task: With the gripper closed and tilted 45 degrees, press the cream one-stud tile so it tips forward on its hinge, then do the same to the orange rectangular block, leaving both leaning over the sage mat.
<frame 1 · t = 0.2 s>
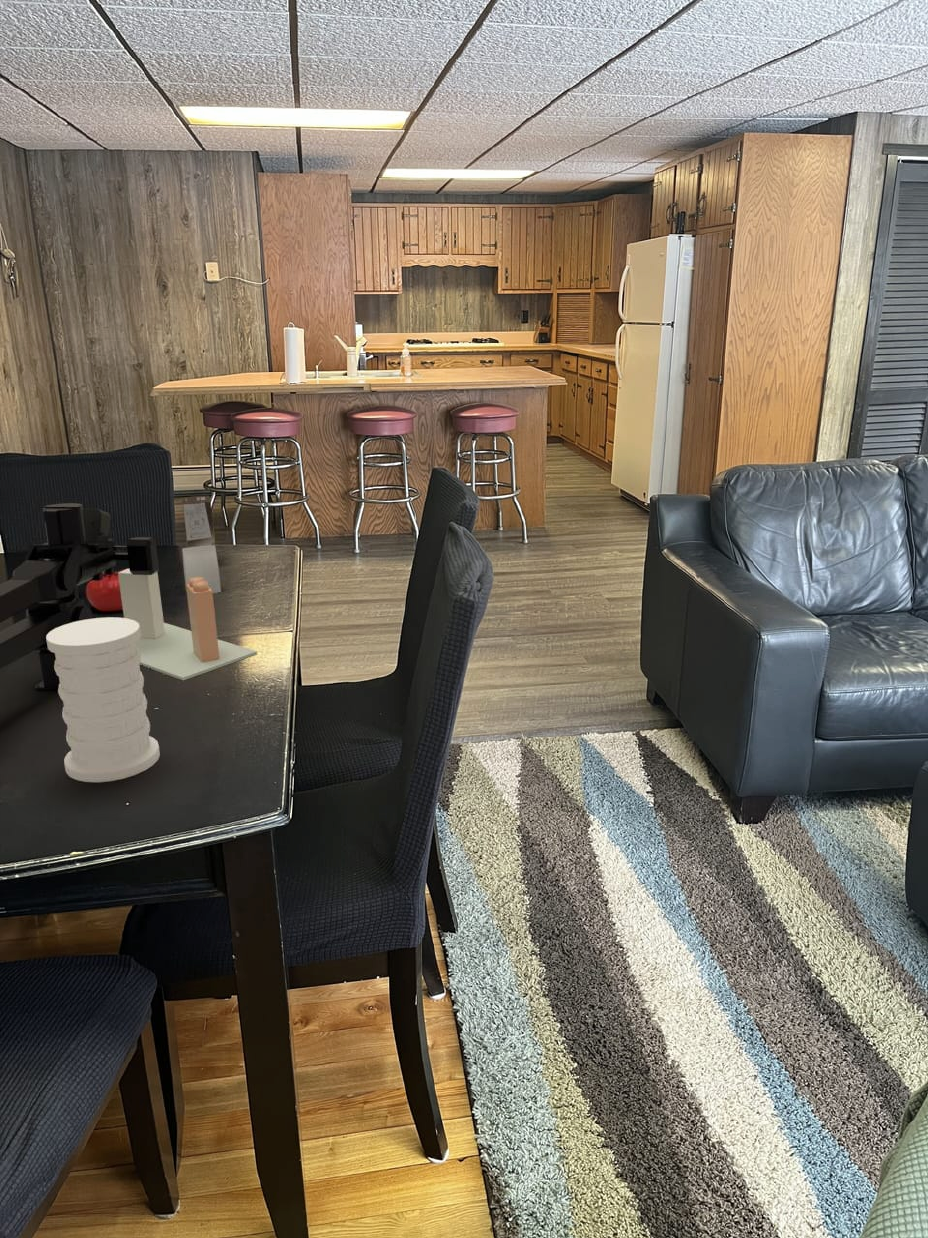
hand: (126, 545, 160), 17 cm above the table, tool horizontal, fingers open, 9 cm apart
mat: (170, 649, 156), on the table
tile one: (141, 600, 160), point 7 cm above the table, hinge at 0.0°
smoothie: (68, 599, 187), on the table
red tomato: (115, 608, 181), on the table
coffee box: (203, 566, 212), on the table
pale grey upright block: (203, 593, 191), on the table
decorative container: (113, 762, 116), on the table
orange rectangular block: (202, 618, 150), point 7 cm above the table, hinge at 0.0°
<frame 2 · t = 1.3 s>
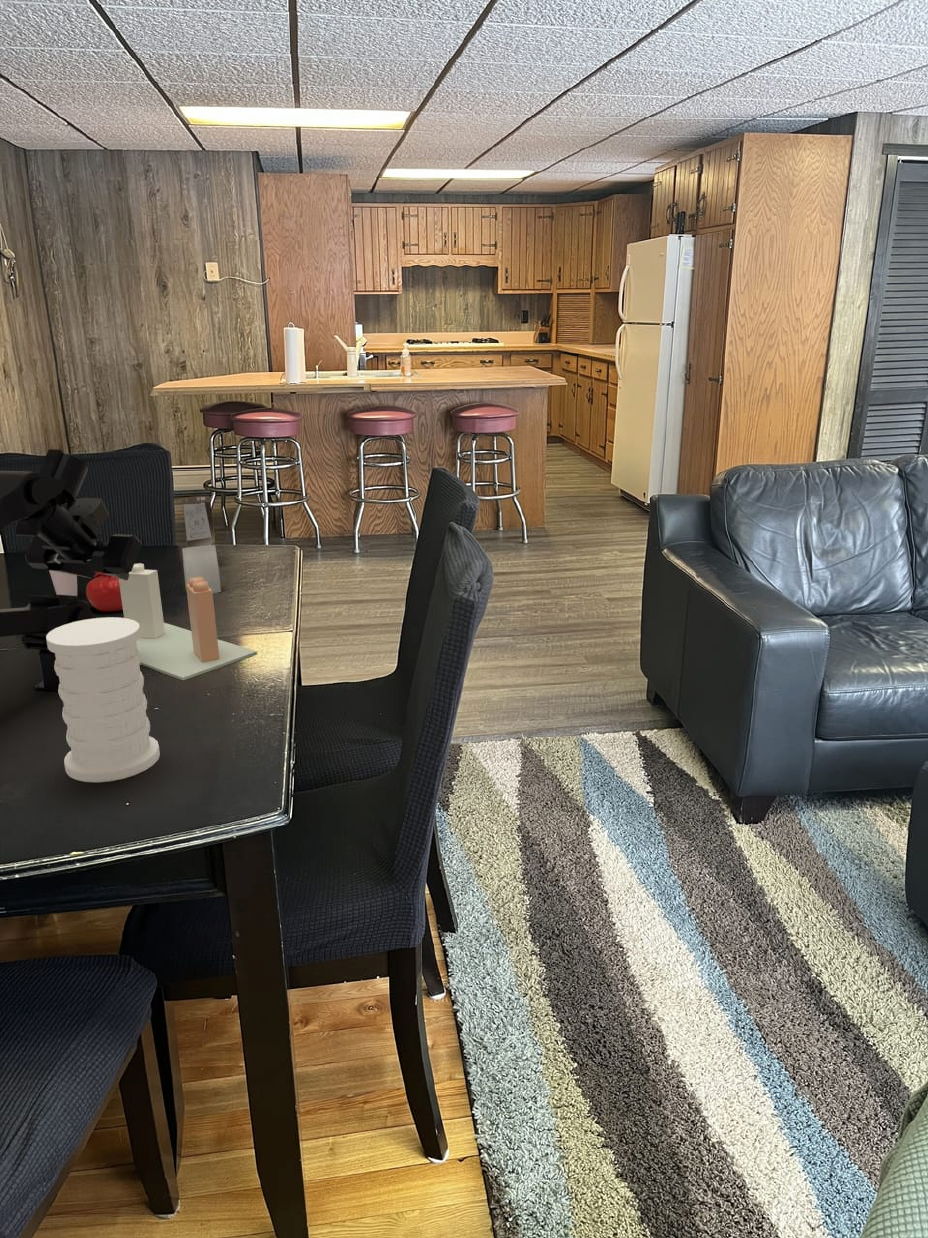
hand: (110, 576, 151), 14 cm above the table, tool tilted 45°, fingers open, 6 cm apart
nothing on the table moved.
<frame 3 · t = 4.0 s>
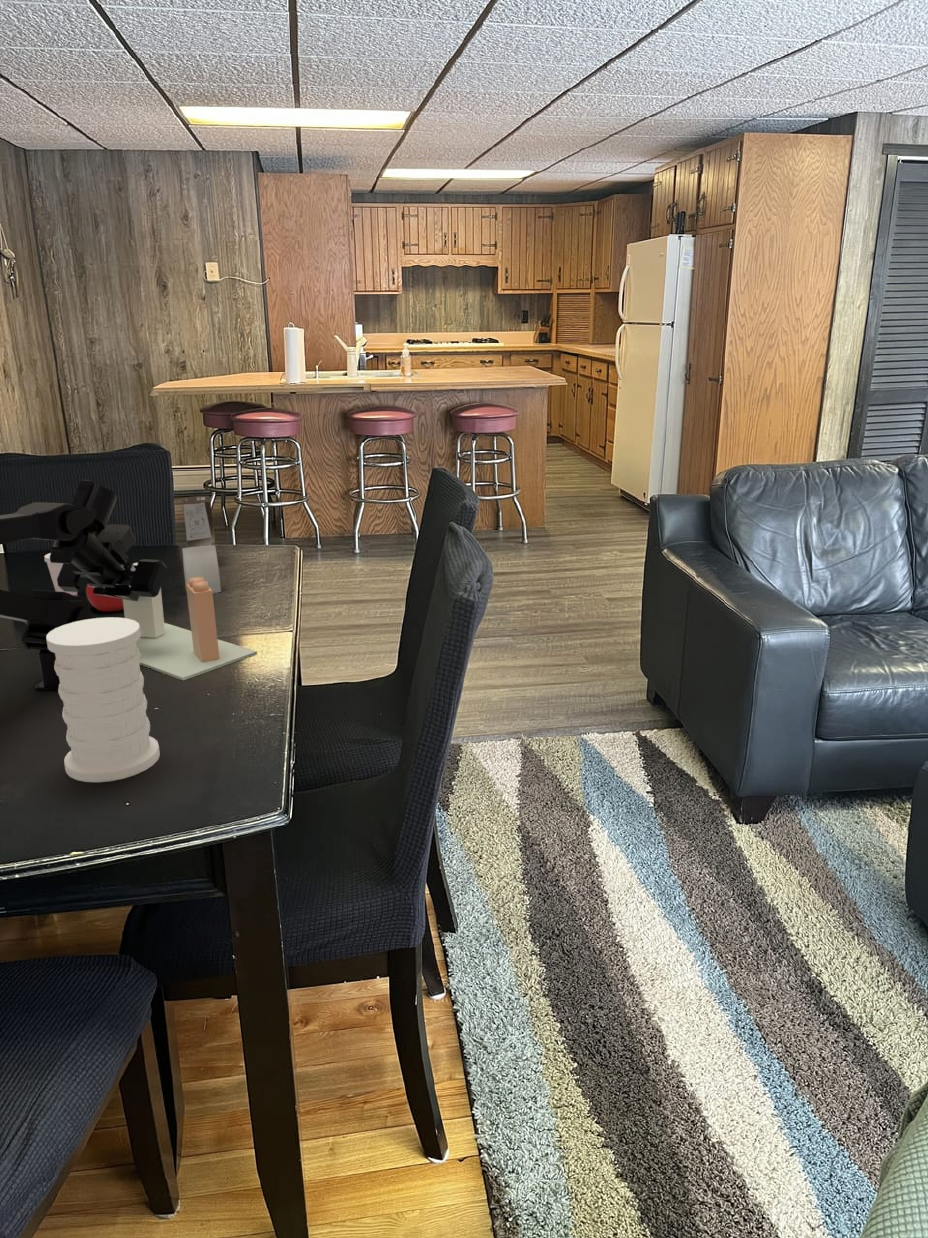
hand: (136, 598, 159), 8 cm above the table, tool tilted 45°, fingers closed, pressing on tile one
tile one: (142, 599, 160), point 7 cm above the table, hinge at 3.0°, touching gripper
everything else where it was.
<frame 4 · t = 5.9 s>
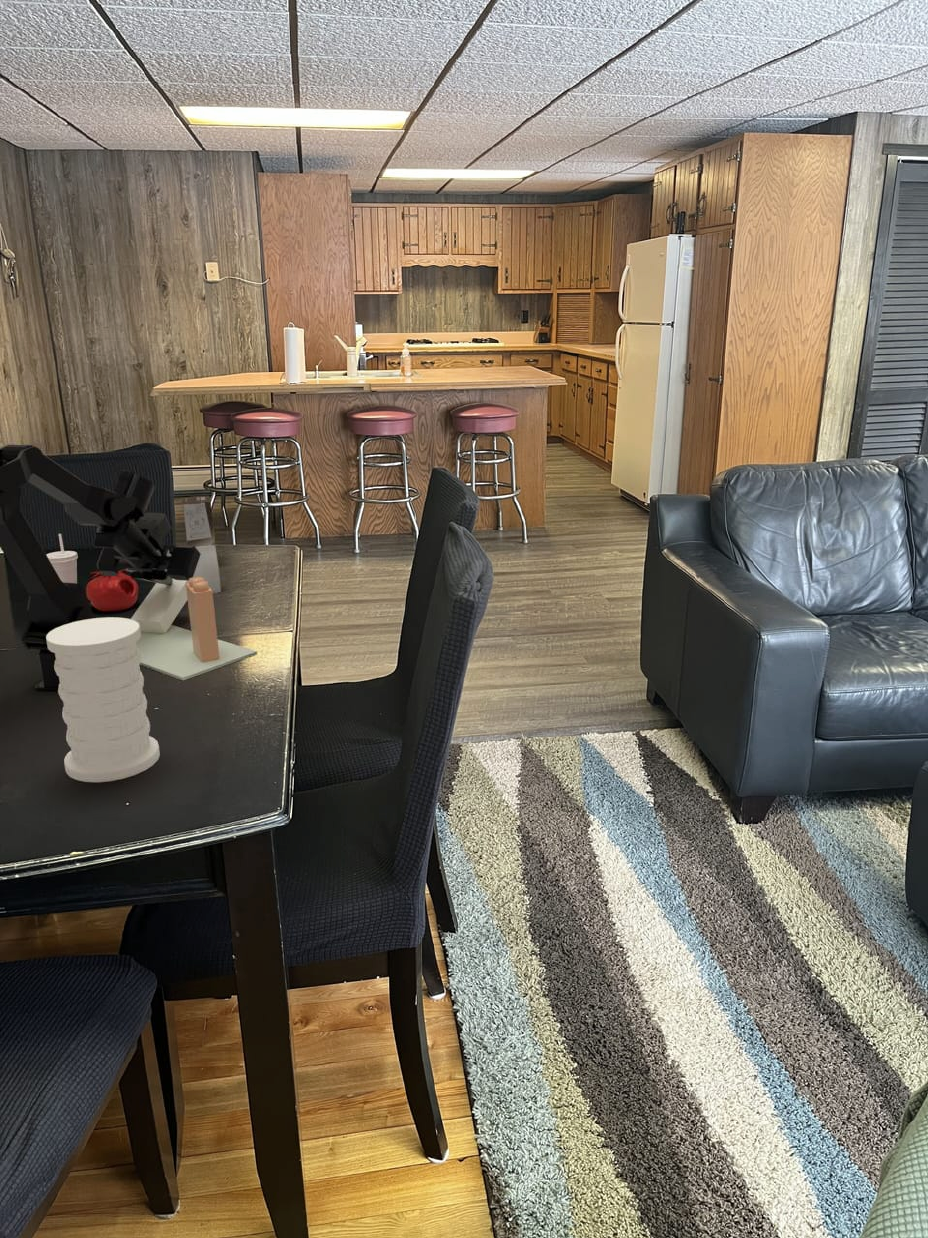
hand: (170, 583, 169), 8 cm above the table, tool tilted 45°, fingers closed
tile one: (164, 602, 167), point 5 cm above the table, hinge at 64.9°, touching gripper
everything else where it was.
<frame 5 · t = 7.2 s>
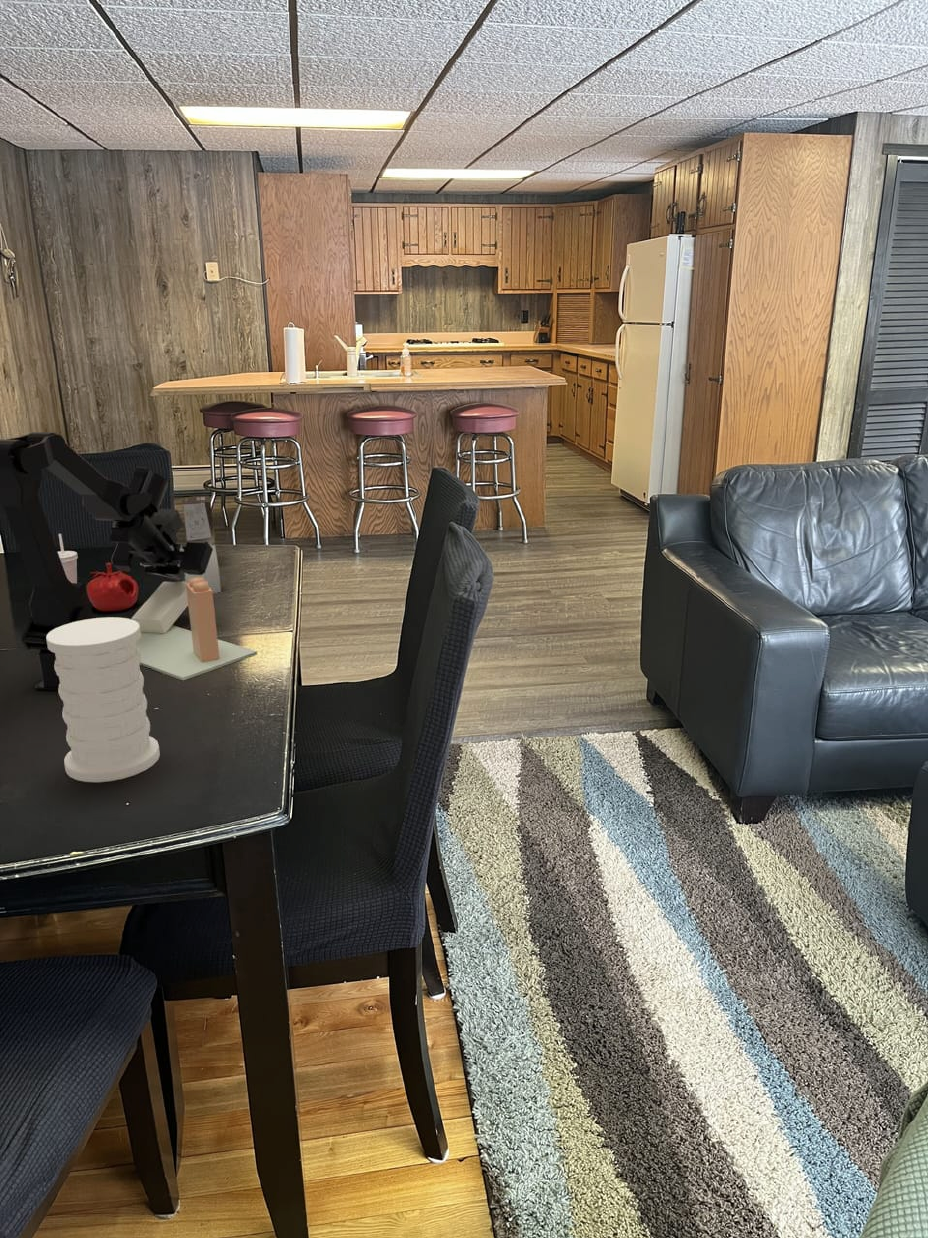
hand: (182, 577, 173), 8 cm above the table, tool tilted 45°, fingers closed
tile one: (165, 605, 168), point 4 cm above the table, hinge at 71.4°
everything else where it was.
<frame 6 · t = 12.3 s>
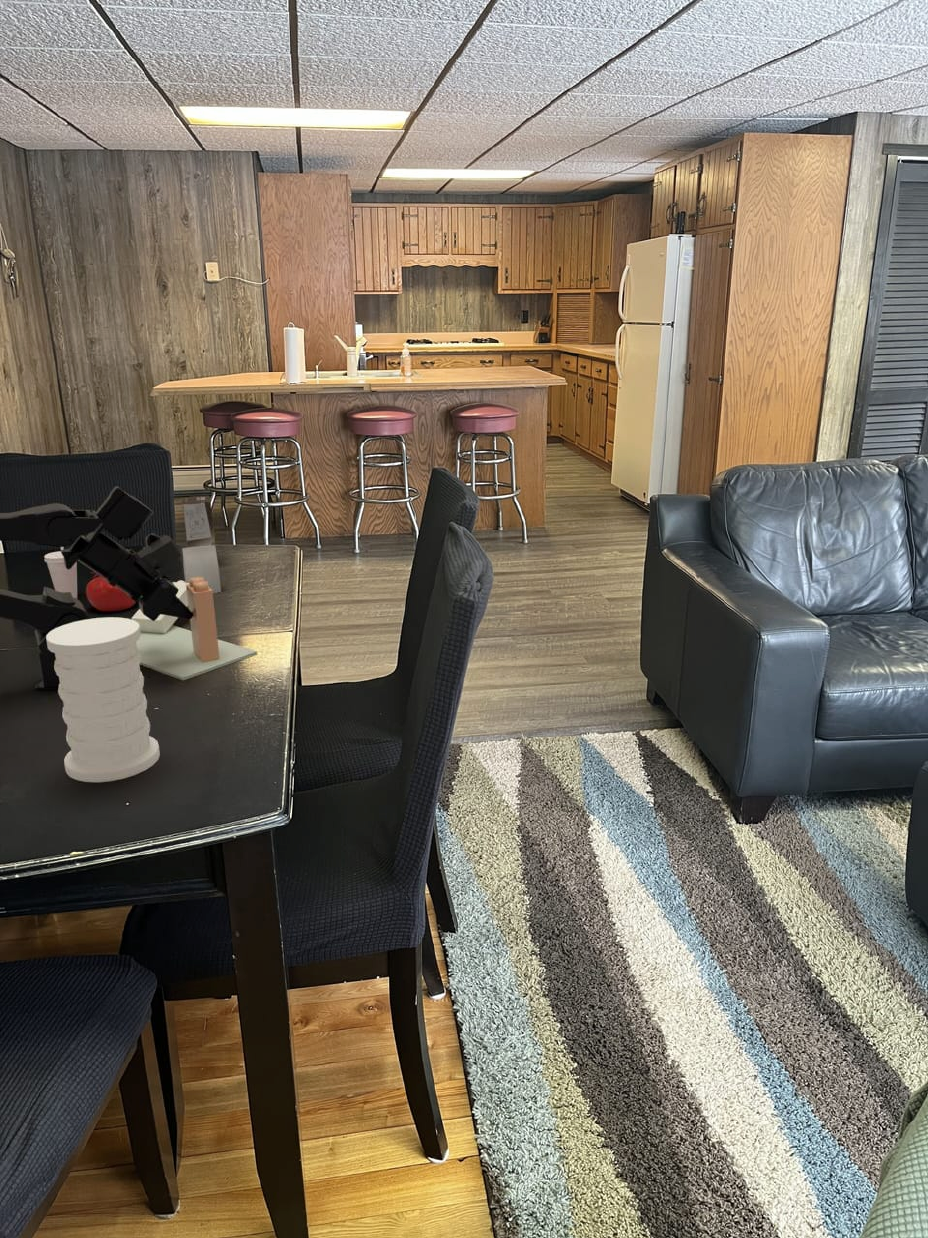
hand: (191, 616, 149), 8 cm above the table, tool tilted 45°, fingers closed, pressing on orange rectangular block
orange rectangular block: (202, 618, 150), point 7 cm above the table, hinge at 0.2°, touching gripper
everything else where it was.
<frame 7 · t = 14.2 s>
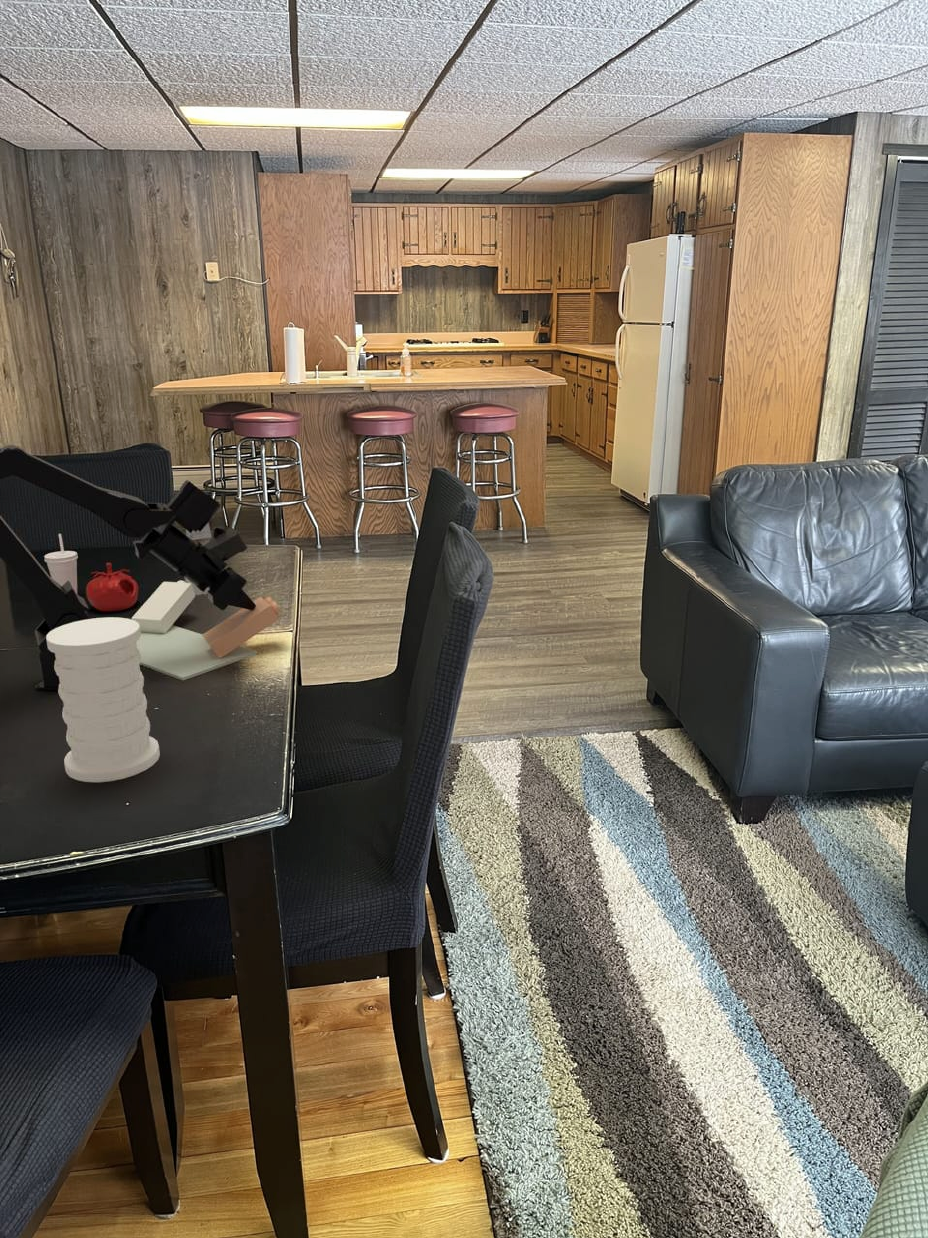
hand: (254, 607, 153), 8 cm above the table, tool tilted 45°, fingers closed
orange rectangular block: (243, 625, 153), point 5 cm above the table, hinge at 64.2°
everything else where it was.
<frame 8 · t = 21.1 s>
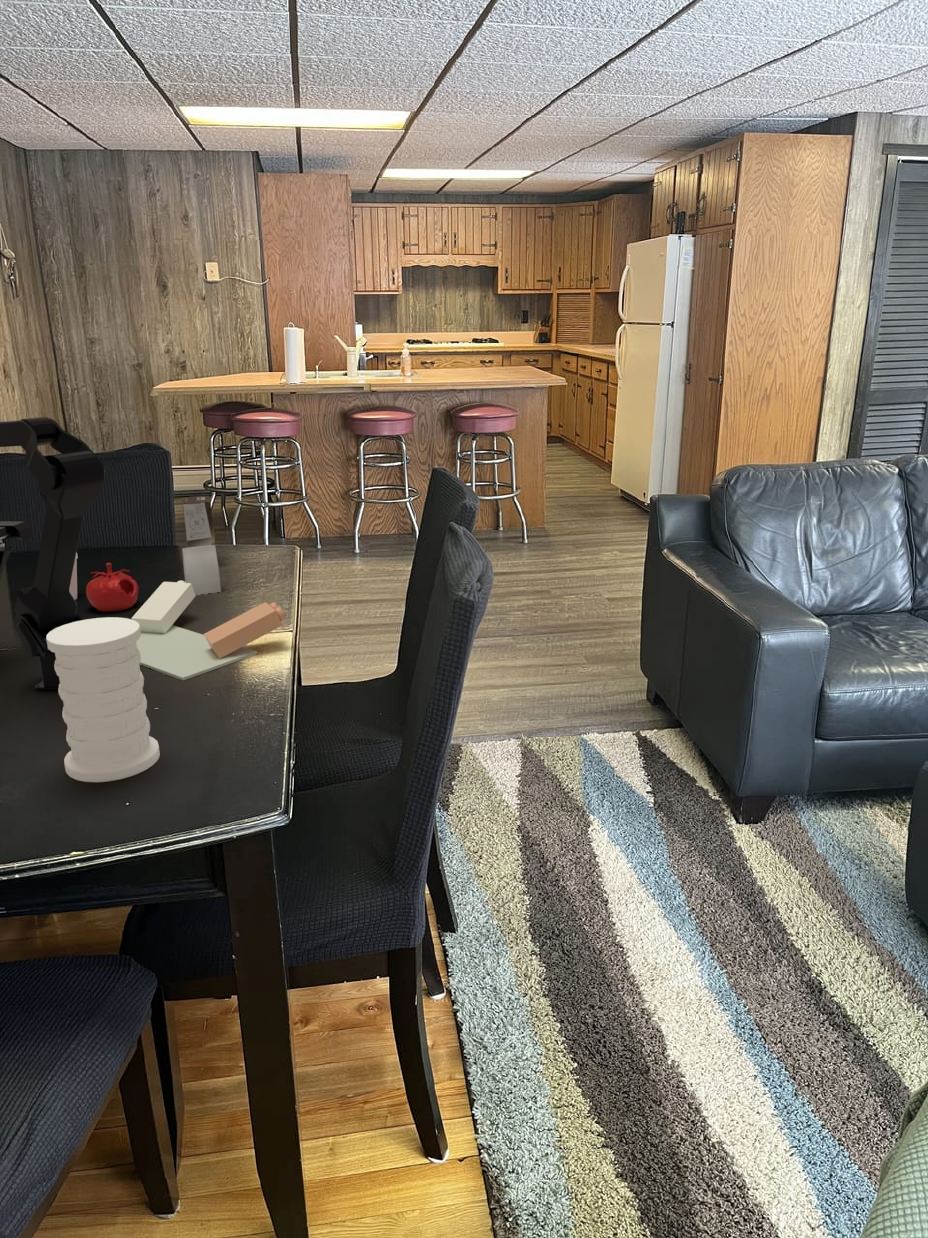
orange rectangular block: (246, 628, 154), point 4 cm above the table, hinge at 70.3°
everything else where it was.
at the end: tile one at +71° (first picture: +0°); orange rectangular block at +70° (first picture: +0°) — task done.
